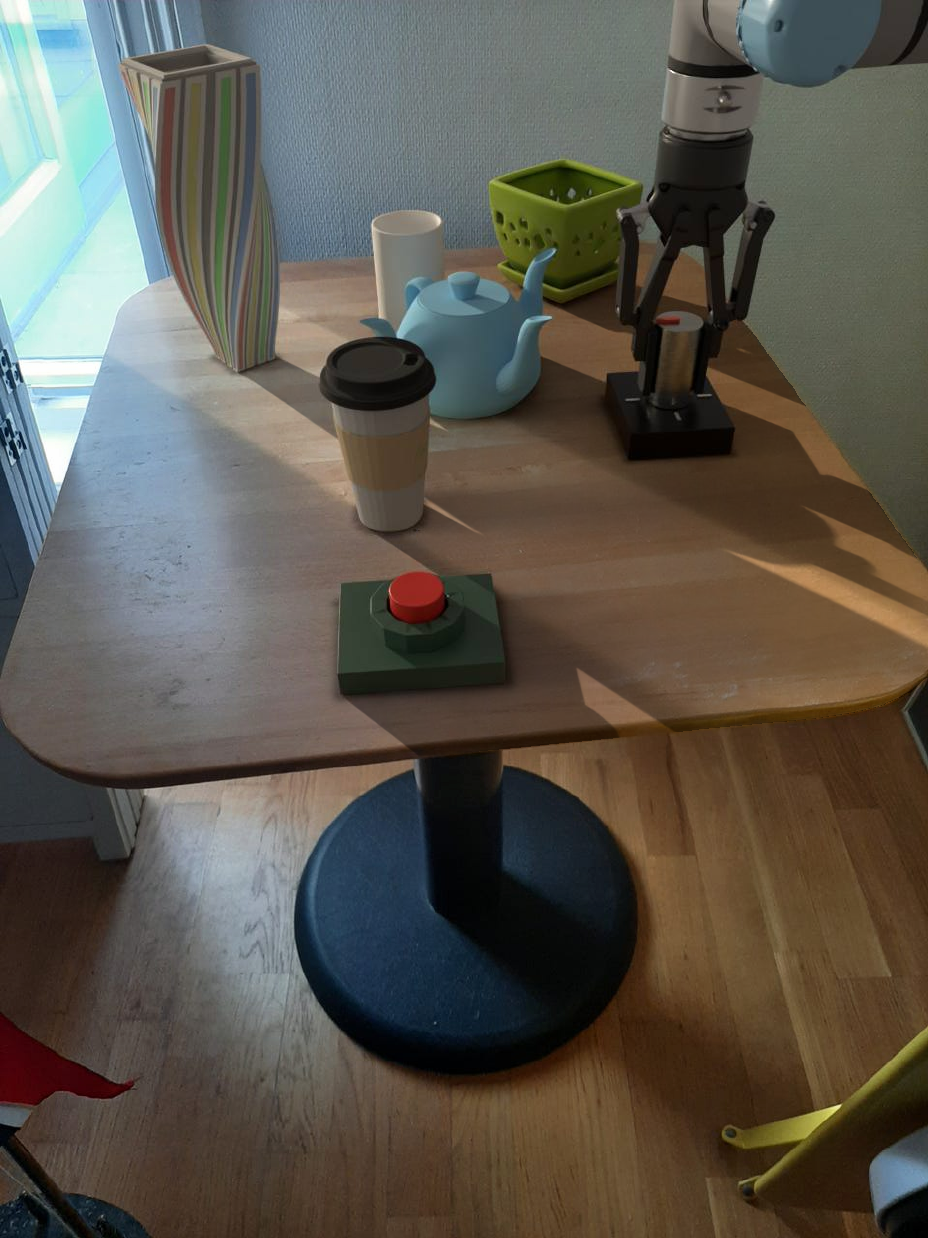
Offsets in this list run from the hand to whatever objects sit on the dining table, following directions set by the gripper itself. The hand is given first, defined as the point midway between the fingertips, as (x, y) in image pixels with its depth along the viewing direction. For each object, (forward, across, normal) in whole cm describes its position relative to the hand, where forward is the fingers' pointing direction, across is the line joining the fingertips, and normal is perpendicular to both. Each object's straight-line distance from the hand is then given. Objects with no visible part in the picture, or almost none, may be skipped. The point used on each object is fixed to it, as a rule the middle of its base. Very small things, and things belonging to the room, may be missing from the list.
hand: (669, 387), depth 90 cm
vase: (+4, -45, +18) cm, 49 cm away
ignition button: (+1, -25, -30) cm, 39 cm away
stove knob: (+1, 0, 0) cm, 1 cm away
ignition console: (+4, -25, -30) cm, 39 cm away
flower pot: (+4, -6, +36) cm, 37 cm away
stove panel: (+4, 0, 0) cm, 4 cm away
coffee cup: (+4, -28, -13) cm, 31 cm away
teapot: (+4, -19, +8) cm, 21 cm away
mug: (+4, -26, +27) cm, 38 cm away
